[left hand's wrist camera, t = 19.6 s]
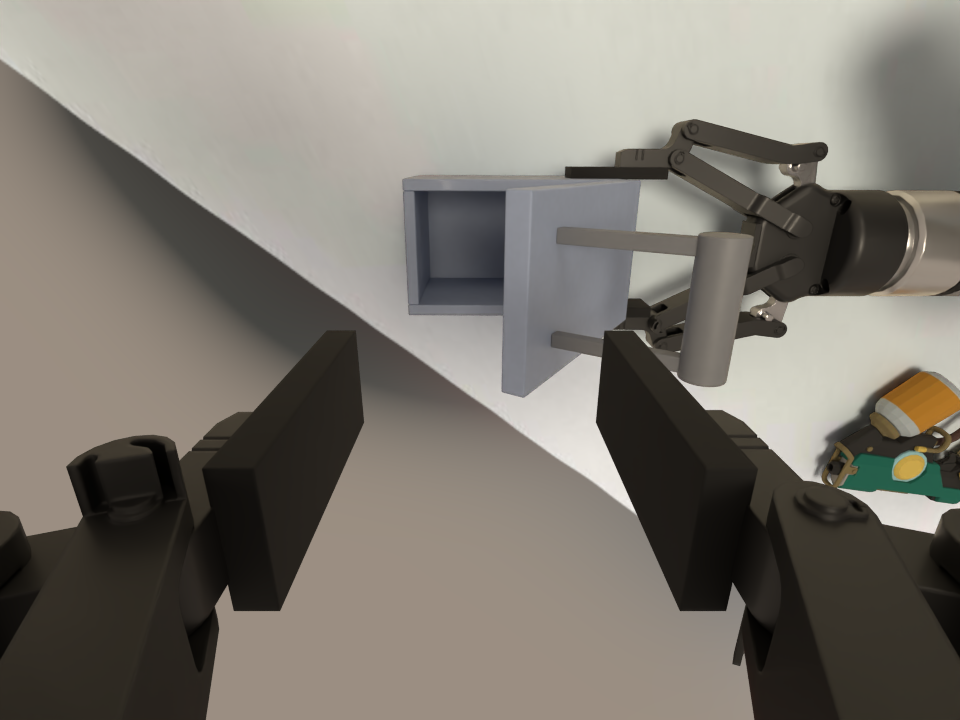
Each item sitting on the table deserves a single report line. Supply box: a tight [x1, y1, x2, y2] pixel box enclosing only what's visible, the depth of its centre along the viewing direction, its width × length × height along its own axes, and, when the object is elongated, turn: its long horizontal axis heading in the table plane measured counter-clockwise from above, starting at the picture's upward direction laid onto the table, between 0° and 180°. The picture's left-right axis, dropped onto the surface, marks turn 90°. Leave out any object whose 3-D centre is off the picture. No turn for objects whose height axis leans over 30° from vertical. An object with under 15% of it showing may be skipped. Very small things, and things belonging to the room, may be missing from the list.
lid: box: [502, 180, 754, 397], centre depth 26 cm, size 15×9×9 cm
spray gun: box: [822, 371, 960, 504], centre depth 49 cm, size 4×17×15 cm
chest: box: [403, 175, 625, 315], centre depth 39 cm, size 14×9×10 cm, turn 90°
